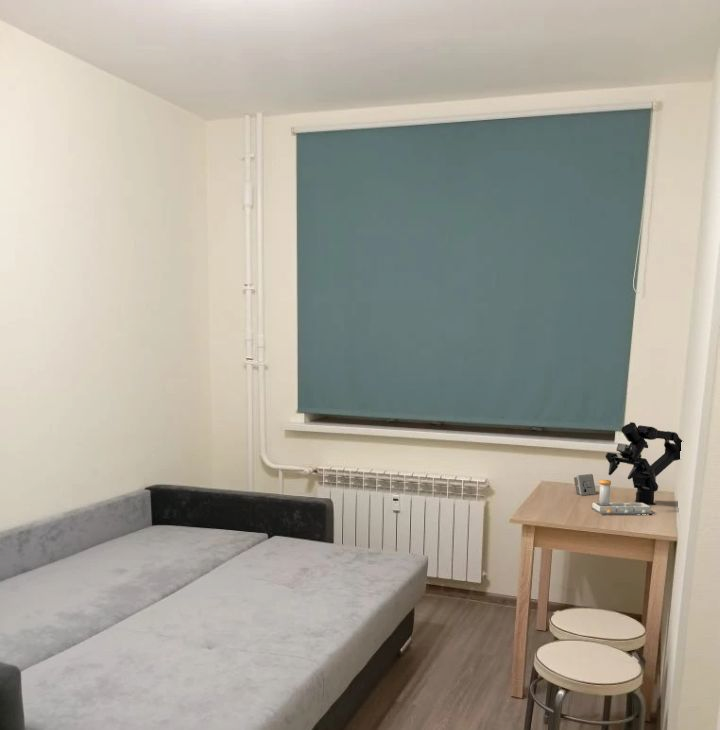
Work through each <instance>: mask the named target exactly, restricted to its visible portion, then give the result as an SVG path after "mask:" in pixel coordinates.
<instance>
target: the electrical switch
mask: <svg viewBox="0 0 720 730" xmlns="http://www.w3.org/2000/svg"><path fill="white" fill-rule="evenodd" d="M573 481H574V486H575V492H576V495H579V496H581V495H582V496H589V494H591V495H596V494H597V491H596V485H595V484H596V483H595V480H594V475H593V474H592V473H587V474H577V475H576V476H575V477H573Z"/></svg>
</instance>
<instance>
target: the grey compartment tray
mask: <svg viewBox="0 0 720 730" xmlns="http://www.w3.org/2000/svg"><path fill="white" fill-rule="evenodd" d="M651 508H652V507H651V506H650V505H646V504H644V503H637V502H609V506H599V502H592V506H591V510H593V511H594V510H595V512H596V513H598V514H599V513H600V514H599V515H601V516H638V515H637V514H640V515H639V516H643V515H642V514H646V515H645V516H648V515H647V514H654V515H655V513H654V512H652V511H651V510H652V509H651Z"/></svg>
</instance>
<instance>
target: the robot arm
mask: <svg viewBox="0 0 720 730" xmlns="http://www.w3.org/2000/svg"><path fill="white" fill-rule="evenodd" d="M621 433H622V434H623V436H624V437H625V439H626V440H627V441H628V442H629V444H627V443H618V444H617V447H616V451H617V452H618V453H619V455H620V456H618V454H617V453H614V452H610V451H609V452H607V453H606V454H605V456H604V457H605V459H606V460H607V461H608V463H609V464H608V465H609V467H608V475H609V476H612V474H614V472H615V471H616V470H617V469H618V468H619V466H620V464H621V463H622V464H627V465H633V466H632V468H631V470H630V472H629V473H628V476H627V479H628V480H631V479H632V483H633V484H632V485H633V488H634V489H636V492H635V499H634V503H644V504H646V505H648V506H650V505H657V503H656V502H655V492H658V489H659V485H658V483H657V480H656V479H657V476H659V475H660V474H661V473H662V472H663V471H664V470H665V469H666V468H668V467H669V466H670V465H671V464H672V463H673V462H675V461H679V460H681V459H680V451H681V442H682V441H683V440H682V438H681V437H679V434H678V433H677V432H675V431H668V430H667V431H665V430H658V428H655V427H653V426H647V425H642V424H641V425H638V426H637V425H636V423H635V422H633V421H630V422H629V423H627V424H625V425H624V426H622V427H621ZM656 439H659V440H664V443H663V446H664V454H662V455H661V456H660V457H658V458H657V459H656V460H655V461H654V462H653V463H651V464H650V463H649V461H648V460H647V458H645V457H644V458H643V457H642V452H643V450H644V449H649V444H648V441H647V440H649V441H652V440H653V441H654V440H656ZM670 441H672V442H670Z"/></svg>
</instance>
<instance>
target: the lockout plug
mask: <svg viewBox="0 0 720 730" xmlns="http://www.w3.org/2000/svg"><path fill="white" fill-rule="evenodd" d="M598 484H599V497H598V498H599V500H598V503H599V506H609V503H611V502H610V501H611V500H610V498H611V494H610V493H611V485H612V481H611V480H608V479H599V481H598Z"/></svg>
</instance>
